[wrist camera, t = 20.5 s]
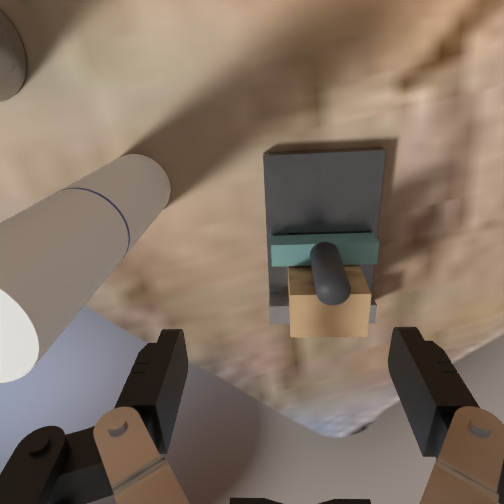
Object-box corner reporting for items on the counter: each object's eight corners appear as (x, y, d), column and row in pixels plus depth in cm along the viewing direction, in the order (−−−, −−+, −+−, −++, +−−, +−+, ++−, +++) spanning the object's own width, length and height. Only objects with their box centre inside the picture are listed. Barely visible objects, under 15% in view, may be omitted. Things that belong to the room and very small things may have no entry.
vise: (270, 304, 46) (270, 324, 43) (263, 152, 38) (262, 161, 34) (367, 303, 45) (374, 323, 42) (382, 147, 37) (393, 155, 33)
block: (288, 293, 44) (290, 337, 36) (287, 256, 41) (289, 295, 34) (352, 292, 43) (367, 336, 36) (354, 254, 41) (371, 293, 34)
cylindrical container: (183, 199, 41) (68, 356, 18) (132, 226, 43) (-28, 398, 20) (145, 141, 38) (-41, 242, 16) (93, 172, 40) (-139, 302, 18)
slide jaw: (272, 257, 41) (270, 306, 33) (271, 233, 40) (269, 277, 31) (371, 255, 40) (396, 304, 32) (373, 230, 39) (400, 274, 30)
